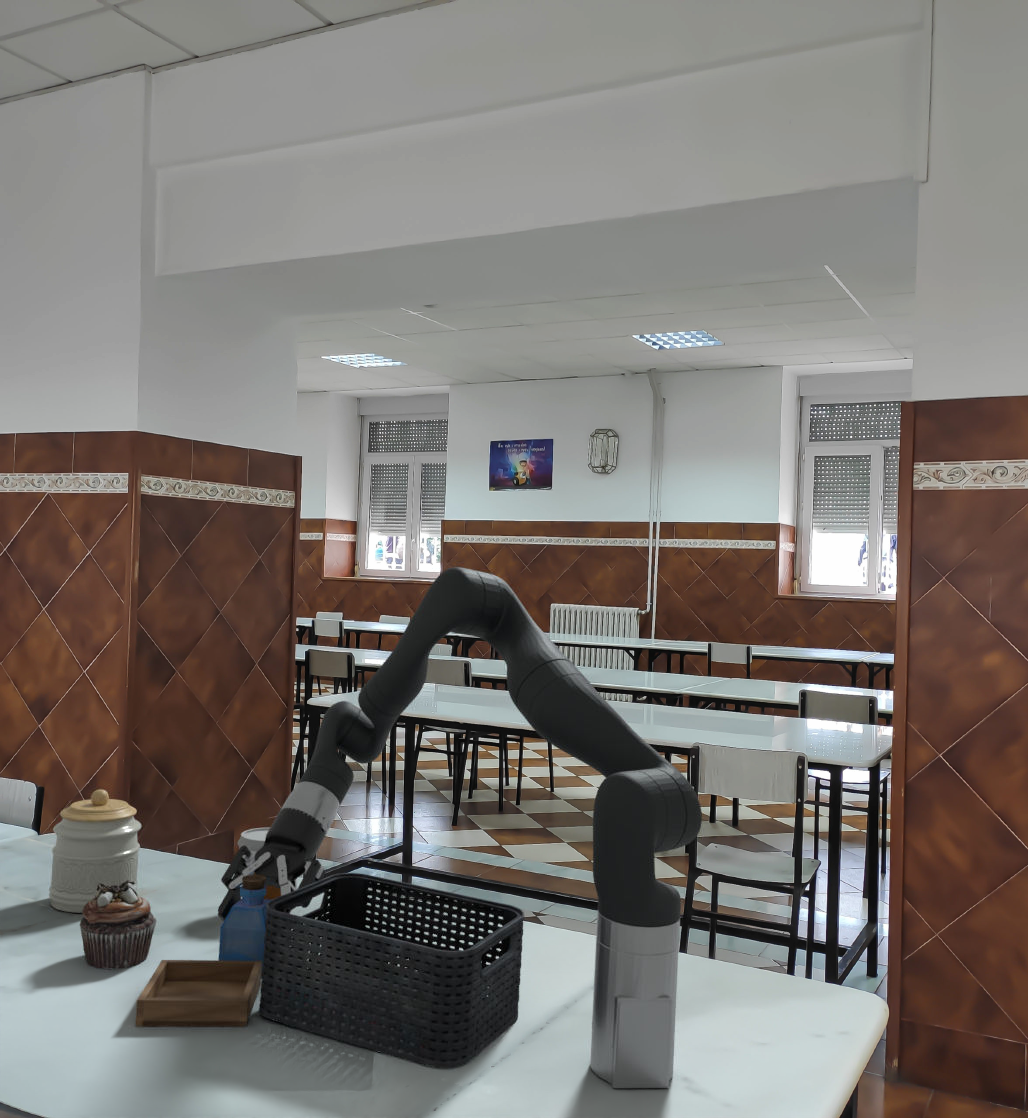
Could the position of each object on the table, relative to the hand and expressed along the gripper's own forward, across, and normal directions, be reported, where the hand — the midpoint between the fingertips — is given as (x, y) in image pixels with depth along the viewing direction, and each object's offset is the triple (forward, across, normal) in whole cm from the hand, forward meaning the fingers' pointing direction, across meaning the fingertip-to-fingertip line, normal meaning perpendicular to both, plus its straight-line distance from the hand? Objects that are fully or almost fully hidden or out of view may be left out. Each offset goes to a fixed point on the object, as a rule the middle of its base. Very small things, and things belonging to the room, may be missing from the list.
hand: (246, 924), depth 135 cm
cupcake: (+8, -17, +1) cm, 19 cm away
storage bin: (+5, +24, +4) cm, 25 cm away
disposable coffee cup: (-11, -14, +20) cm, 26 cm away
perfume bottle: (+4, 0, +6) cm, 7 cm away
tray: (+12, +3, -3) cm, 13 cm away
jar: (-2, -38, +11) cm, 40 cm away
